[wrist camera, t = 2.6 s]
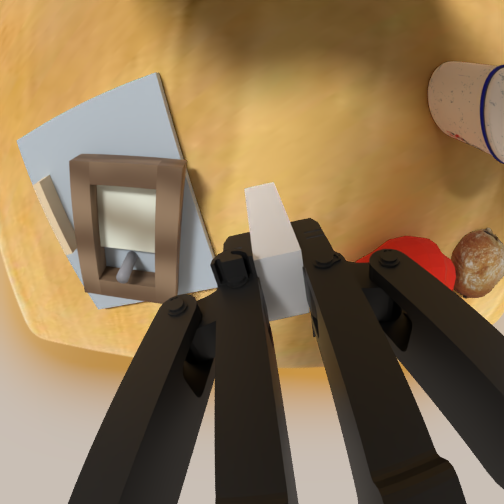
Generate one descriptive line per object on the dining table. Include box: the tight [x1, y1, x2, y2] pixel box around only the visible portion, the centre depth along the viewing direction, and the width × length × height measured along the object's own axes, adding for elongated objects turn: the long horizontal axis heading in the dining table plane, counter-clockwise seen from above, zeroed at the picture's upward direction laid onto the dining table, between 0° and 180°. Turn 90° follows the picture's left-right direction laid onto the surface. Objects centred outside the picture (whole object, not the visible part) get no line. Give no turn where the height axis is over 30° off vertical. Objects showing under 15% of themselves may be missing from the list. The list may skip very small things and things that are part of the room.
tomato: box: [355, 236, 456, 291], centre depth 30 cm, size 14×13×9 cm
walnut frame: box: [69, 154, 187, 304], centre depth 26 cm, size 14×10×2 cm
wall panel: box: [17, 73, 217, 309], centre depth 25 cm, size 22×16×5 cm
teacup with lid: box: [428, 61, 504, 164], centre depth 17 cm, size 12×9×12 cm
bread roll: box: [451, 228, 504, 298], centre depth 32 cm, size 10×10×8 cm
